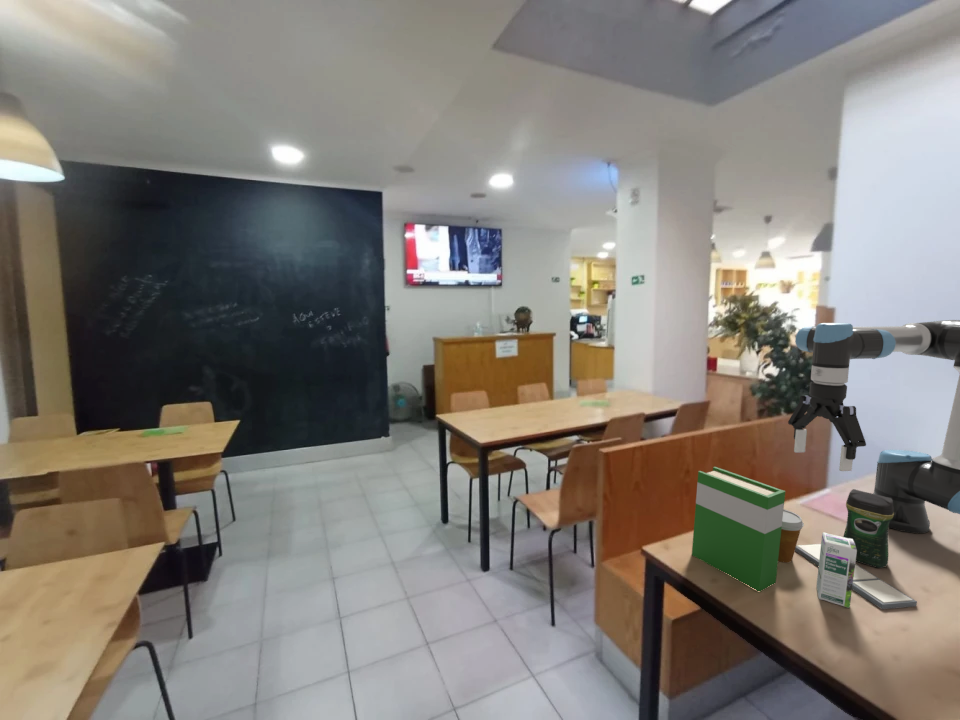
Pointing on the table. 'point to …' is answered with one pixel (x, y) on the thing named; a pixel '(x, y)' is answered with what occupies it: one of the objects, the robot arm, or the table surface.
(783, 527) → the disposable coffee cup
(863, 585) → the board
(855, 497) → the coffee jar
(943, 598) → the table surface
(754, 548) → the hardback book
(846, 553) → the syrup box
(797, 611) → the table surface
